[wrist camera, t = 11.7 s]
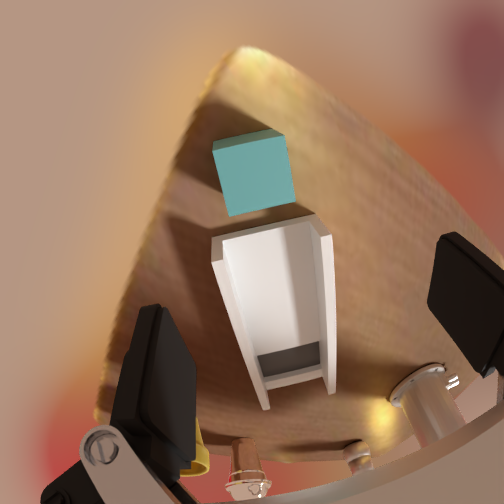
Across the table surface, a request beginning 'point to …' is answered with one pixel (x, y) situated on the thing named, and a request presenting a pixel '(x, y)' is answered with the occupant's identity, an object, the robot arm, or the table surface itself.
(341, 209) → the table surface
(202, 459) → the plant pot
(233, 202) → the teal block
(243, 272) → the trap channel
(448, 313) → the robot arm
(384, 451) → the table surface
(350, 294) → the table surface
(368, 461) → the plastic bottle
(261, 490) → the cup with straw
